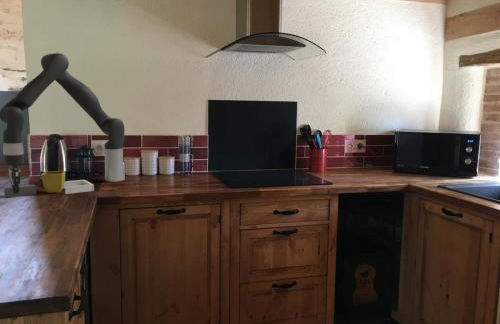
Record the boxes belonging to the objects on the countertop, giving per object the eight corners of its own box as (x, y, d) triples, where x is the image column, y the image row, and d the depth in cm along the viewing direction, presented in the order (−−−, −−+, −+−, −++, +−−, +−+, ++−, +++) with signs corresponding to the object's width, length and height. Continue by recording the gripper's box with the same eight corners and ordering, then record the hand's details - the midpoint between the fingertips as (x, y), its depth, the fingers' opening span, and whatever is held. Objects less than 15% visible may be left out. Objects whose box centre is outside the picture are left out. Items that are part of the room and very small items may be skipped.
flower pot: (41, 194, 183) (40, 174, 181) (46, 190, 191) (45, 171, 190) (63, 193, 185) (62, 173, 184) (66, 189, 193) (65, 170, 192)
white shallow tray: (84, 185, 203) (84, 179, 203) (93, 190, 192) (93, 184, 191) (57, 188, 196) (57, 182, 195) (65, 193, 184) (65, 187, 184)
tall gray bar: (34, 193, 184) (34, 184, 184) (36, 194, 182) (35, 185, 181) (4, 196, 177) (3, 187, 176) (5, 197, 175) (4, 188, 174)
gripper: (26, 154, 173) (28, 194, 175) (20, 151, 184) (22, 189, 186) (5, 155, 168) (8, 196, 170) (1, 152, 179) (3, 190, 181)
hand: (15, 192), depth 178 cm, fingers closed on tall gray bar, 3 cm apart
